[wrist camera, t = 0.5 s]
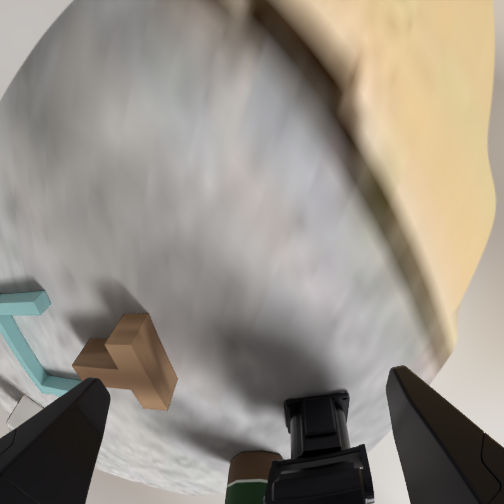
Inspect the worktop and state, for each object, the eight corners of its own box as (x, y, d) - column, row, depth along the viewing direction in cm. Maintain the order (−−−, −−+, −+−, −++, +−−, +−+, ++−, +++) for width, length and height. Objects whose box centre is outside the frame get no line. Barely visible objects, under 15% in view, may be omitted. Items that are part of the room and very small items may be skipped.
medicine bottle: (23, 393, 34) (-8, 443, 23) (57, 416, 35) (29, 470, 24) (27, 409, 36) (1, 455, 26) (58, 430, 37) (35, 478, 27)
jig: (103, 392, 29) (97, 404, 27) (48, 383, 30) (41, 392, 28) (43, 288, 23) (32, 299, 21) (-6, 292, 24) (-16, 301, 23)
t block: (78, 315, 24) (57, 342, 20) (148, 313, 23) (131, 344, 19) (111, 375, 27) (97, 402, 24) (177, 378, 26) (167, 410, 23)
